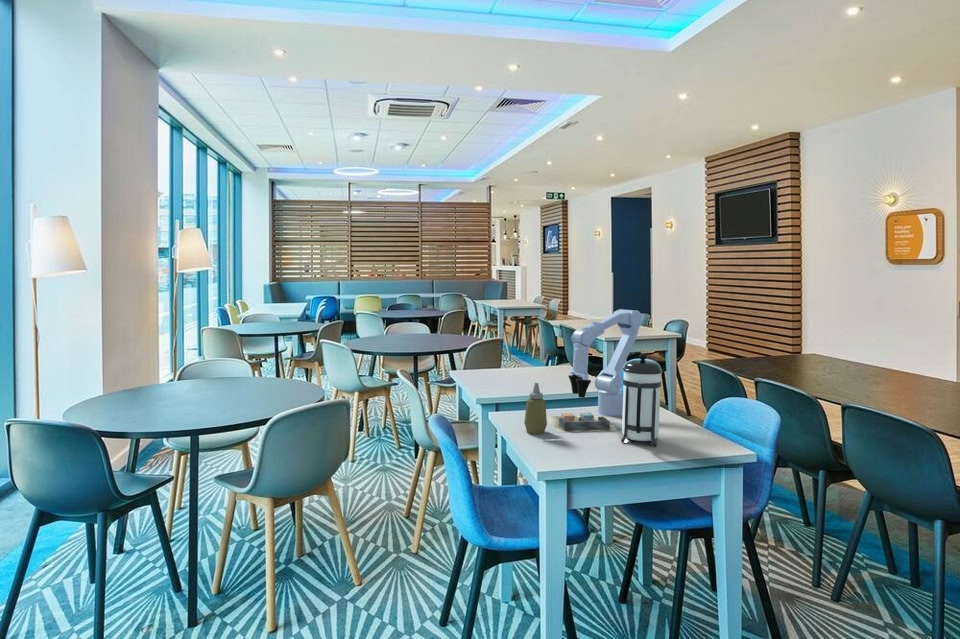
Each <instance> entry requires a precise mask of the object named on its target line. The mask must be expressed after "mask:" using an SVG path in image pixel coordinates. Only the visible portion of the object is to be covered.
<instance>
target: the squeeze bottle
mask: <svg viewBox="0 0 960 639" xmlns="http://www.w3.org/2000/svg"><path fill="white" fill-rule="evenodd" d="M532 390H533V391H531V392H529V398H528V399H527V400H526V406H525V414H524V426H525V430H526V433H527V434H530V435H542V434H545V430H546V428H547V426H548V421H547V417H548V416H547V406H546V400H545V399H544V394H543V392H541V390H540V386H539V383H538V382H535V383H534V386H533V389H532Z"/></svg>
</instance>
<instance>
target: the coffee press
mask: <svg viewBox="0 0 960 639" xmlns="http://www.w3.org/2000/svg"><path fill="white" fill-rule="evenodd" d="M646 358H647V354H645V353H640V355H639V359H635V360H629V361H626V362H625V363H624V366H623V368H622V372H623V377H622V378H623V380H622V386H623V389H622V390H623V393H622V396H623V414H622V415H621V417H622V418H621V420H622V421H621V422H622V423H621V433H622V435H623V436H622V438H621V440H620V442H621V443H623V444H628V442H629V441H630V440H632V441H638V442H639V441H640V442H648V443H649V445H650V447H652V446H654V447H657V444H658V443H657V441H656V440H658V439H659V431H660V430H659V429H660V411H661V410H660V409H661V408H660V407H661V406H660V405H661V387H662V378H661V377H662V373H663V369H662V368H661V365H660V364H659V363H658V362H655V361H651V360H646Z"/></svg>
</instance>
